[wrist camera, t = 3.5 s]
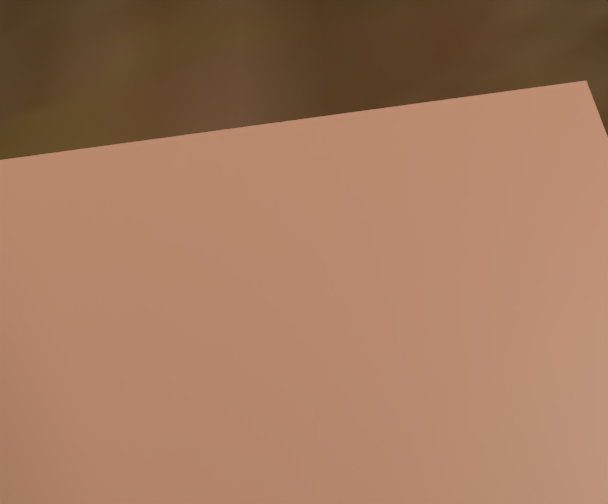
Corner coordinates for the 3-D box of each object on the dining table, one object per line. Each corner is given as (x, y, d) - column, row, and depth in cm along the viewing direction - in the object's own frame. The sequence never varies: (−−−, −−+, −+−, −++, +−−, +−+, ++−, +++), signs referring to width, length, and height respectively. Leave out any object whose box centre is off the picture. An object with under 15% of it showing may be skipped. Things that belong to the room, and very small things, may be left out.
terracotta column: (377, 510, 15) (913, 944, 2) (208, 547, 14) (-171, 1318, 2) (343, 343, 16) (587, 80, 4) (186, 372, 16) (-129, 178, 3)
